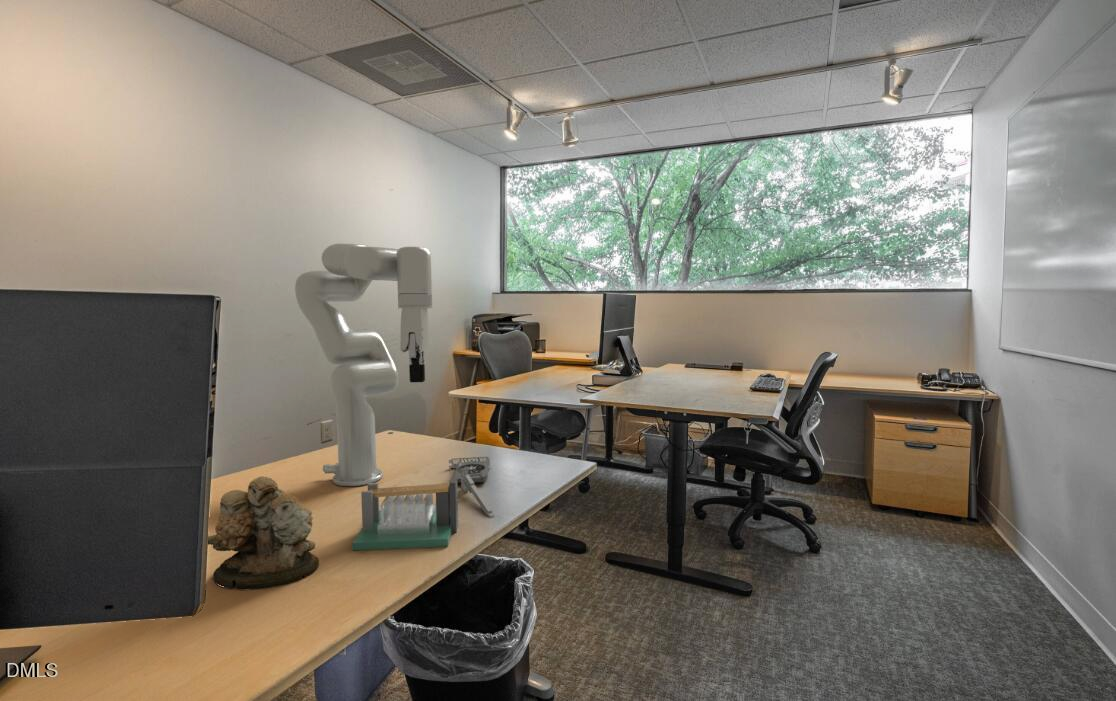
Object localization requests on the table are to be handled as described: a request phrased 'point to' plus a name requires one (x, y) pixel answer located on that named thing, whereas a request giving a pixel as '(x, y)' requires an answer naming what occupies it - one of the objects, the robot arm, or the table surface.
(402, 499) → the heat sink
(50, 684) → the table surface
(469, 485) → the caliper
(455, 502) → the lug
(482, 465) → the graphics card
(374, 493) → the strap
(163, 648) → the table surface
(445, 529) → the motherboard
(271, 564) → the owl figurine
